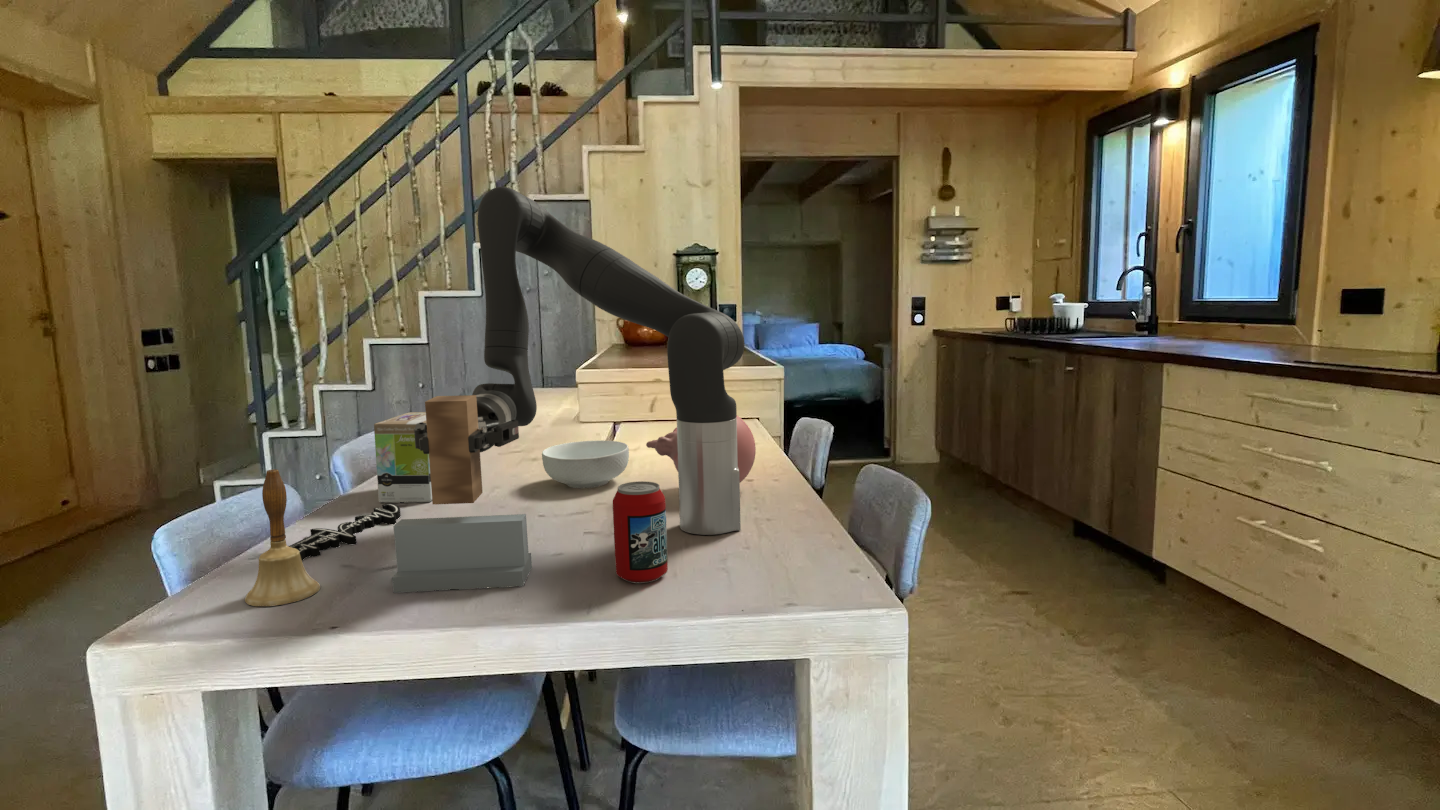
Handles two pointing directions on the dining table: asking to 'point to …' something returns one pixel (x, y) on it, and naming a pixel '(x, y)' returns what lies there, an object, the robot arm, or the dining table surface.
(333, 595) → the dining table surface
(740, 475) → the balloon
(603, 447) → the cereal bowl
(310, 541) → the nameplate
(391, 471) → the tea box
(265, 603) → the hand bell
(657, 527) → the beverage can
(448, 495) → the walnut post
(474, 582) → the ridge
